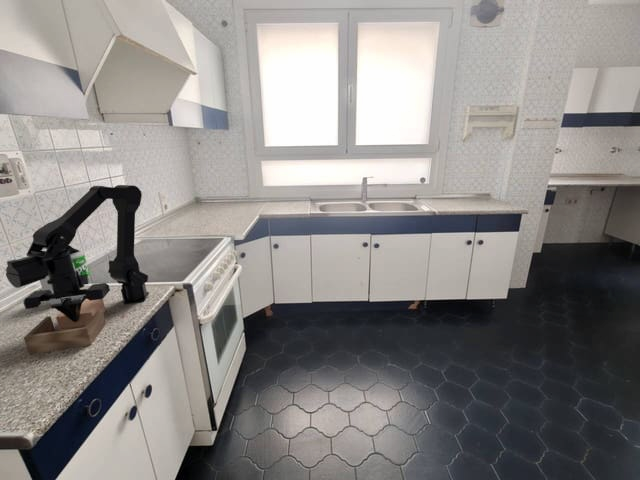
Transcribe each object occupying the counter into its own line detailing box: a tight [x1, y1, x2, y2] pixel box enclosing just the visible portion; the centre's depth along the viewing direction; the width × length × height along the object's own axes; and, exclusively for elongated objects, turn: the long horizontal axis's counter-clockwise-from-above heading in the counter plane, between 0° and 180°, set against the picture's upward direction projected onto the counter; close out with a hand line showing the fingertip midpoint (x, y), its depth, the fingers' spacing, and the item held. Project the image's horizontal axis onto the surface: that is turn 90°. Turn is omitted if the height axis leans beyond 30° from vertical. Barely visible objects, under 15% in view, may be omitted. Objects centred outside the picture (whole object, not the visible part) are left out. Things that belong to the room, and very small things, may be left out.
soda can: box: [71, 250, 91, 279], centre depth 121 cm, size 8×8×12 cm
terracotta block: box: [55, 298, 106, 331], centre depth 95 cm, size 9×9×4 cm
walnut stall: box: [23, 309, 107, 355], centre depth 86 cm, size 14×10×5 cm
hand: (76, 321), depth 90 cm, fingers closed
